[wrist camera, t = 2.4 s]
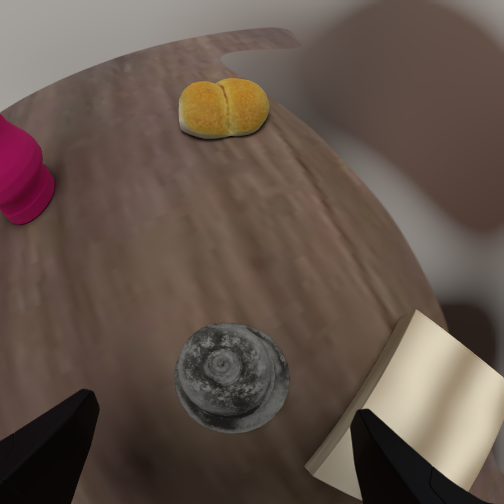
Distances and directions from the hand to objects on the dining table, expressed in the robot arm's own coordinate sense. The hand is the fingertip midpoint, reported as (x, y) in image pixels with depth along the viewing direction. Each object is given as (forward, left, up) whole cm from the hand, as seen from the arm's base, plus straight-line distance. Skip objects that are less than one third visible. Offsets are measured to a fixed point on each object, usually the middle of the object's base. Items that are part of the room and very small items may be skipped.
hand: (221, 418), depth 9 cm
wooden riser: (-12, -5, -9) cm, 16 cm away
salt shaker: (+1, -1, -9) cm, 9 cm away
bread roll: (+17, -19, -9) cm, 27 cm away
